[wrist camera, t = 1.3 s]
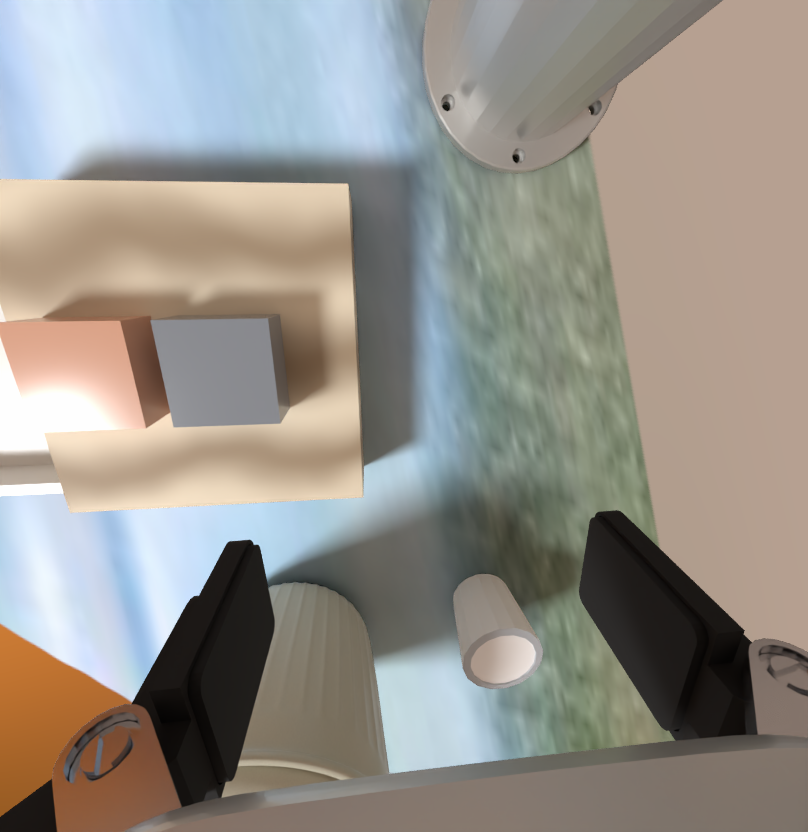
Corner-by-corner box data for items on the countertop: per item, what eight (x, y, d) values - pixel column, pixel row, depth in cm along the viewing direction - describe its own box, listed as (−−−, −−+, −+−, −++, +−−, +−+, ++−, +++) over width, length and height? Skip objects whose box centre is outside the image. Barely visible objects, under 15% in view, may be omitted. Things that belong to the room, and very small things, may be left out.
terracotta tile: (42, 317, 22) (-5, 322, 20) (150, 315, 23) (120, 320, 20) (71, 415, 24) (33, 432, 22) (171, 411, 25) (146, 428, 22)
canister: (387, 687, 42) (406, 1055, 22) (212, 696, 40) (60, 1106, 20) (395, 547, 36) (429, 875, 16) (190, 550, 34) (-56, 924, 14)
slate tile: (177, 315, 23) (150, 320, 20) (279, 314, 24) (267, 318, 21) (195, 411, 25) (173, 427, 22) (290, 407, 26) (280, 423, 23)
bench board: (35, 198, 25) (-42, 178, 20) (351, 201, 26) (348, 183, 22) (114, 477, 31) (70, 512, 27) (363, 466, 33) (363, 497, 28)
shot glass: (475, 557, 37) (498, 616, 31) (527, 586, 39) (560, 648, 32) (432, 606, 39) (446, 673, 32) (485, 632, 40) (508, 700, 34)
